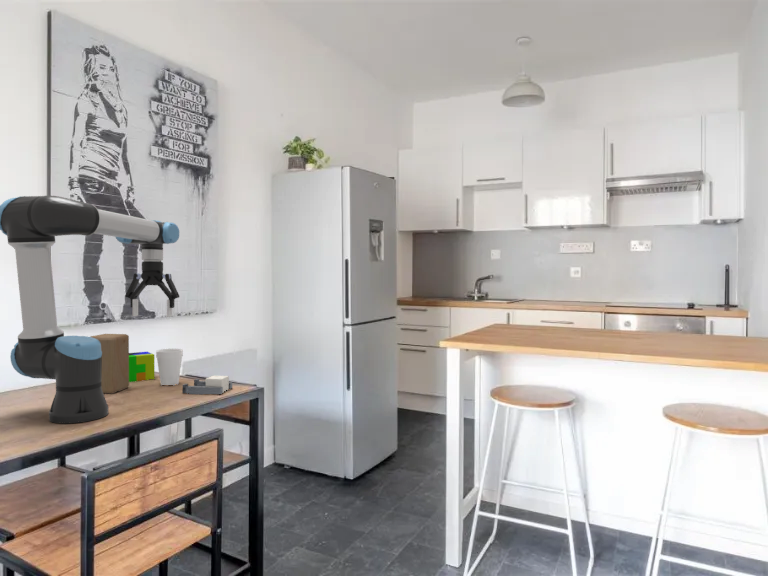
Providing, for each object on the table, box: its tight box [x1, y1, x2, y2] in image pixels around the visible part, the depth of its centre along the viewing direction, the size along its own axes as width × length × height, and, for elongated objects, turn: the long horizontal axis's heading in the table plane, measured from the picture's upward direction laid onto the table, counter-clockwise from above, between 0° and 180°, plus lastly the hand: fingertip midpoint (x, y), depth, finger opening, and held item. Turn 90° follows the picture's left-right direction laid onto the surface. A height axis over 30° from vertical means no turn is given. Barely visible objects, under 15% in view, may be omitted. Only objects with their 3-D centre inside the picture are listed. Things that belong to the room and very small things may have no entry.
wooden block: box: [89, 333, 130, 394], centre depth 187 cm, size 10×10×20 cm
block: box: [205, 375, 230, 393], centre depth 187 cm, size 6×6×5 cm
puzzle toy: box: [129, 351, 155, 383], centre depth 208 cm, size 10×10×10 cm
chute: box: [181, 378, 233, 395], centre depth 188 cm, size 10×14×3 cm
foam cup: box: [155, 348, 184, 386], centre depth 198 cm, size 10×9×13 cm
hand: (152, 316), depth 199 cm, fingers open, 13 cm apart
